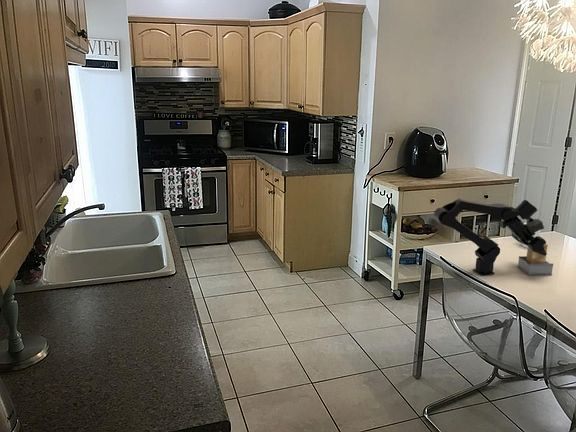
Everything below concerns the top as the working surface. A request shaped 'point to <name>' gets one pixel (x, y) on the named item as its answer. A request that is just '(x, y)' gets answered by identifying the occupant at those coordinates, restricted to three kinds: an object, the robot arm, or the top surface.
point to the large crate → (534, 267)
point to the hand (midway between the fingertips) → (540, 251)
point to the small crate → (535, 256)
